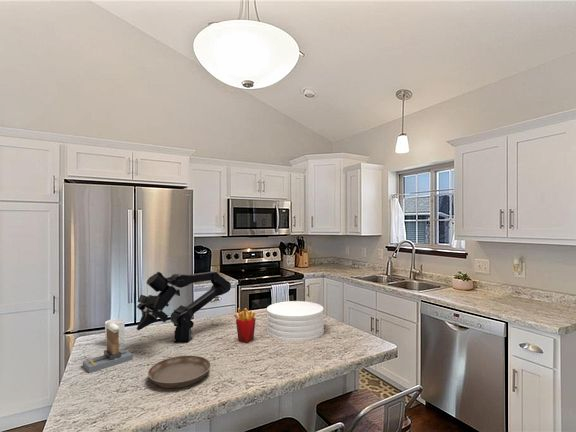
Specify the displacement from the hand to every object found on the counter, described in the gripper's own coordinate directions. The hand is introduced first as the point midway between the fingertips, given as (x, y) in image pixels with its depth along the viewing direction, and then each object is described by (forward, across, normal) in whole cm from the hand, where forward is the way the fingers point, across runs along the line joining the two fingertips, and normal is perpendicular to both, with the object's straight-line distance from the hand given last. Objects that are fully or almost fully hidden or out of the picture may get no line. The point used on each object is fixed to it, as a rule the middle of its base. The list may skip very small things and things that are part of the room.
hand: (137, 329), depth 130 cm
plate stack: (-38, +30, +52) cm, 72 cm away
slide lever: (+12, 0, -1) cm, 12 cm away
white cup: (+8, -20, +6) cm, 23 cm away
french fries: (-20, +23, +34) cm, 46 cm away
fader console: (+15, 0, -1) cm, 15 cm away
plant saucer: (+6, +31, +9) cm, 33 cm away
